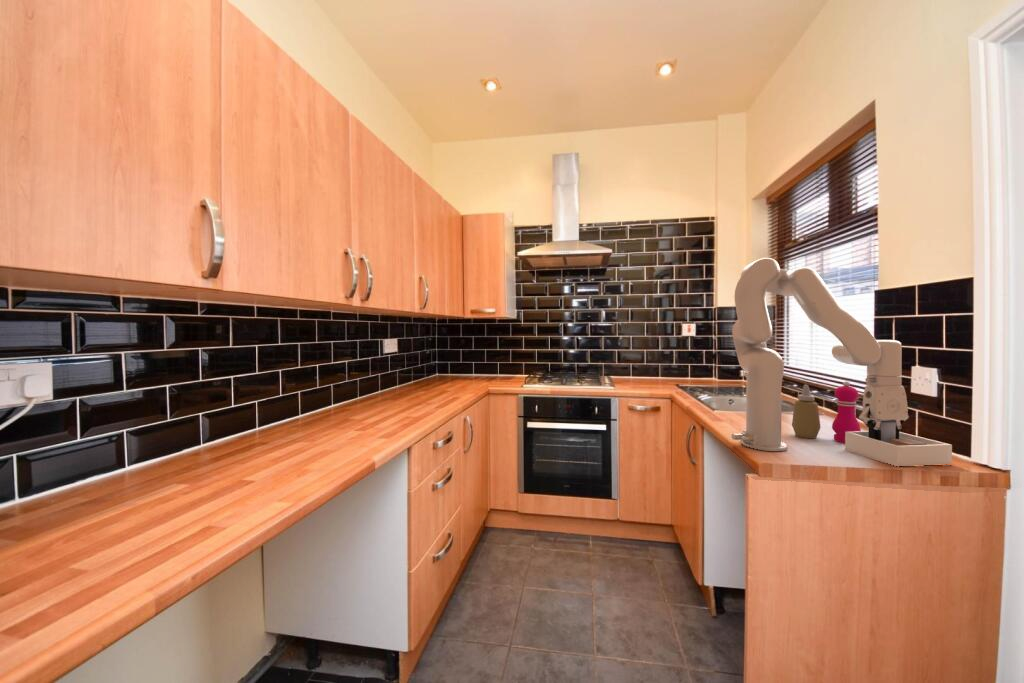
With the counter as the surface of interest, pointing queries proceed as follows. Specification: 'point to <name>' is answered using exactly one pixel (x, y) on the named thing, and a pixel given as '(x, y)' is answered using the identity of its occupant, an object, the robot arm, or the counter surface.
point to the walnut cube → (906, 442)
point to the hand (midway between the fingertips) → (883, 440)
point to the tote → (899, 450)
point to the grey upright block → (887, 430)
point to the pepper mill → (845, 412)
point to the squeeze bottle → (806, 415)
